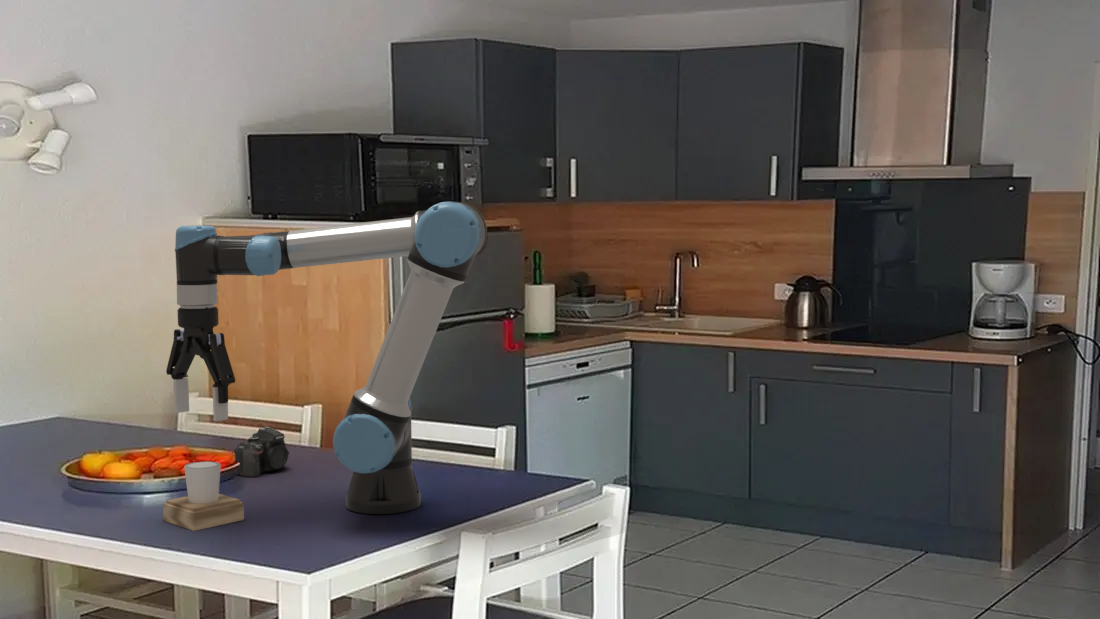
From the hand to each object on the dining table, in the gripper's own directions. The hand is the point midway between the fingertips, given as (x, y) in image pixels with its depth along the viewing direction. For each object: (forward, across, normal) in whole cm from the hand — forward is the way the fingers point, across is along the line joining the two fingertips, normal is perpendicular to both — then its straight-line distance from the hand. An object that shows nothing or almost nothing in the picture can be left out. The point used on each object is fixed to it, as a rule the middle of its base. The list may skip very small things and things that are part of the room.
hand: (201, 416), depth 245 cm
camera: (+21, +28, -33) cm, 48 cm away
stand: (+20, 0, 0) cm, 21 cm away
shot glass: (+17, 0, 0) cm, 17 cm away
